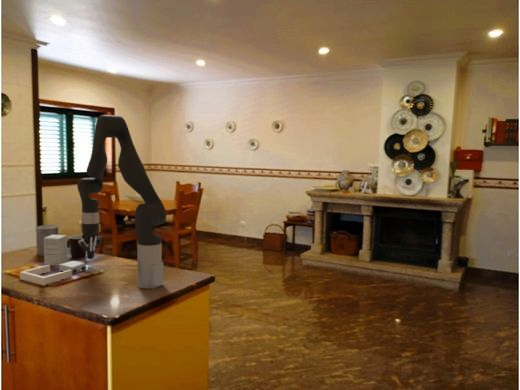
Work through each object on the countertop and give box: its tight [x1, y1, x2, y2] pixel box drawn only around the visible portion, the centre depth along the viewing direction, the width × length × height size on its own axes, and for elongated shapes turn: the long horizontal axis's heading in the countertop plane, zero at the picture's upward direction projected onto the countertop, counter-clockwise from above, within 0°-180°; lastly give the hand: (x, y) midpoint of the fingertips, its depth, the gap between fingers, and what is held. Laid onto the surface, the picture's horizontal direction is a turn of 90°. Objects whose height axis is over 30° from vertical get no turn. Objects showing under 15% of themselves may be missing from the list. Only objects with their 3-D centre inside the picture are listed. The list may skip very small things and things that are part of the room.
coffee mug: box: [68, 234, 87, 260], centre depth 204 cm, size 12×9×10 cm
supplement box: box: [43, 234, 69, 266], centre depth 191 cm, size 7×7×13 cm
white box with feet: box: [58, 260, 87, 274], centre depth 181 cm, size 9×8×3 cm
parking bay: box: [19, 264, 73, 286], centre depth 169 cm, size 15×13×3 cm
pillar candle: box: [36, 223, 59, 257], centre depth 206 cm, size 10×10×15 cm
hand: (90, 258), depth 189 cm, fingers closed
